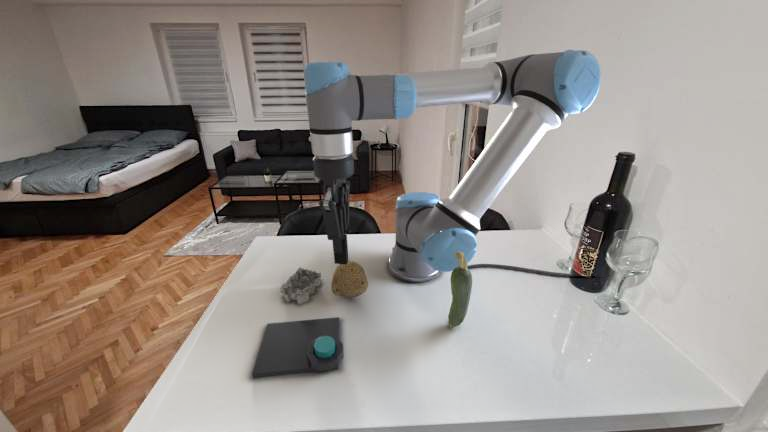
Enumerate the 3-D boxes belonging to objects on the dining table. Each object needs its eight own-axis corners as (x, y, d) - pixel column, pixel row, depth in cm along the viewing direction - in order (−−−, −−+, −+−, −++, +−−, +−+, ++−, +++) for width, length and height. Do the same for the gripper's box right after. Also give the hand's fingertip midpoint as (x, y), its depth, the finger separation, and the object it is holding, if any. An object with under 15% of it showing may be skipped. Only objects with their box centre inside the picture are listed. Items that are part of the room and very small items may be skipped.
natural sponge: (375, 293, 80) (375, 260, 76) (355, 313, 73) (353, 279, 69) (348, 281, 84) (346, 250, 80) (326, 299, 77) (323, 266, 73)
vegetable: (466, 324, 69) (477, 248, 61) (464, 338, 66) (475, 259, 58) (446, 319, 71) (455, 245, 63) (444, 332, 67) (452, 255, 59)
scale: (343, 320, 70) (342, 310, 69) (343, 373, 58) (342, 362, 57) (268, 327, 69) (266, 317, 67) (251, 383, 56) (248, 371, 55)
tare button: (335, 341, 62) (335, 335, 61) (335, 357, 58) (334, 351, 57) (315, 343, 61) (314, 336, 60) (313, 360, 57) (313, 353, 57)
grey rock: (304, 306, 75) (302, 293, 73) (278, 300, 77) (276, 287, 75) (324, 281, 84) (323, 269, 83) (300, 276, 86) (299, 264, 85)
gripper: (325, 147, 63) (334, 246, 73) (299, 163, 51) (314, 278, 61) (360, 148, 62) (364, 248, 71) (342, 164, 50) (350, 281, 60)
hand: (341, 262), depth 66 cm, fingers closed
